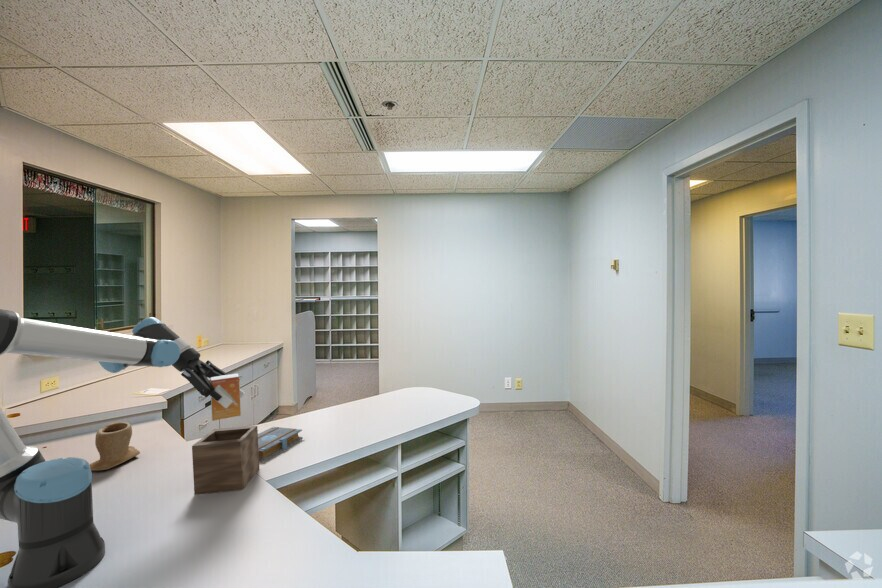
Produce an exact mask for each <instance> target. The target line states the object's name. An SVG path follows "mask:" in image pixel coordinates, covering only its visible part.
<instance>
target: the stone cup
mask: <svg viewBox="0 0 882 588" xmlns="http://www.w3.org/2000/svg"><path fill="white" fill-rule="evenodd" d="M132 435H133V428H132V425H131V423H129V422H126V421H116V422H112V423H108V424H107V425H105V426H103V427H102V428H99V429H98V431H96V433H95V437H94V438H95V441H94V443H95V448H96V449H97V452H98V455H99V459H98V460H95V461H94V462H92V463H89V465H90V469H91V471H95V472H96V471H97V472H98V471H106V470H109V469H110V470H111V468H114V467H117V466H119V465H121V464H123V463H125V462H127V461H129V460H131V459H133V458H136V456H138V455H141V451H140V450H139V449H137V448H136V447H135V446H133V445H130V444H131V443H130V442H131V438H132V437H133V436H132Z"/></svg>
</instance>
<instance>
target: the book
mask: <svg viewBox="0 0 882 588" xmlns="http://www.w3.org/2000/svg"><path fill="white" fill-rule="evenodd" d="M302 431H303V429H301V428H292V427H291V428H289V427H279V426H272V427H270V428H268V429H266V430H264V431H261V432H260V433H258V450H259V462H260V461H261V462H265V461H266V460H267V459H270V458H271V457H272V456H274V455H276V454H278V453H280V452H282V451H284V450H286V449H287V448H289V447H291V445H294V444H296V443H297V442H299V441H301V440H302V439H303V436H299V433H301V432H302Z"/></svg>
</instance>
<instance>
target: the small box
mask: <svg viewBox="0 0 882 588" xmlns="http://www.w3.org/2000/svg"><path fill="white" fill-rule="evenodd" d="M209 381H210V383H211V384H212V386H213V387H214V388H215V389H216V388H217V389H219V390H220V391H221V392H222V393H223V394H225V395H226V396H227V397H228V398H230V399H231V400H232V401H233V402H232V403H231V404H230V405H229V407H228V408H224V407H223V406H222V405H221V404H220V403H218V402H217V401H216V400H215V399H213V398H212V397H211V396H210V407H211V421H218V420H223V419H224V420H225V419H229V418H234V417H240V416H241V415H242V410H241V409H242V408H241V399H240V389H241V387H240V375H239V373H237V372H236V373H231V374H228V375H222V376H216V377H210V378H209ZM215 389H214V390H215Z"/></svg>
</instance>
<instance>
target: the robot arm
mask: <svg viewBox="0 0 882 588" xmlns="http://www.w3.org/2000/svg"><path fill="white" fill-rule="evenodd" d="M131 331H132V334H124V333H118V332H113V331H111V332H110V331H106V330H99V329H93V328H89V327H88V328H87V327H80V326H75V325H74V326H73V325H69V324H63V323H57V322H49V321H45V320H38V319H31V318H26V317H21V316H20V314H19V313H18V312H16V311H13V310H8V309H2V308H0V356H2V355H4V354H15V355H25V356H26V355H28V356H38V357H48V358H59V359H70V360H71V359H72V360H79V361H80V360H81V361H90V362H91V361H92V362H98V363H99V365H100V366H101V367H102V368H103V369H104V370H105V371H107V372H109V373H112V374H116V373H119V372H121V371H123V370H126V369H127V368H129V367H152V368H153V367H155V368H163V367H164V368H165V367H166V368H167V367H170V366H172V367H173V368H174V369H176V370H177V371H178V372H179V373H180V372H181V374H180V375H181V376H182V377H183V378H185V379H186V380H187V382H189V383H190V384H191V385H192V386H193V387H194V388H195V390H196V391H198V393H199V394H200V395H201V396H203V397H205V398H208V397H209V396H210V398H211V397H212V398H213V399H215V400H216V401H217V402H218V403H220V404H221V405H222V406H223V407H224V408H228V407H229V405H230V404H231V403H232V402H233V401H232V400H231V399H230V398H228V397H227V396H226V395H225V394H223V393H222V392H221V391H220V390H219V389H217V388H216V389H215V388H214V387H213V386H212V384H211V383H210V377H216V376H222V375H229V374H228V373H226V371H223V369H220V368H219V367H218V366H216V365H215V364H214V363H212V361H210V360H206V362H205V361H202V360H201V359H200V357H201V354H200V352H198V351H197V350H196V349H195V348H194V347H191V345H190V344H189V343H188V342H187V341H185V340H184V339H183V338H182V337H180V336H179V335H178V334H176V332H174V331H173V330H172V329H171V328H169V327H168V325H166V324H165V323H163V322H162V321H161V320H159V319H158V318H157V317H154V316H151V317H146V318H144V319H142V320H141V321H139V322H137V324H135V326H133V328H132V330H131ZM208 378H209V379H208ZM214 389H215V390H214ZM245 394H246V392H245V391H244V390H242V389H241V388H240V400H241V399H242V398H243V396H244V395H245ZM92 481H93V473H92V470H91V469H90V463H89V462H88V461H87V460H86V459H84V458H80V457H73V456H72V457H65V458H63V457H59V458H53V459H49V460H46V459H45V457H44V456H43V454H42V452H41V451H40V450H39V448H38V446H36V445H25V444H24V442H23V440H22V439H21V438H20V436H19V435H18V433H17V431H16V430H15V428H14V426H13V425H12V424H11V421H10V420H9V419H8V417H7V416H6V414H5V413H4V411H3V409H2V408H1V407H0V520H4V521H8V522H12V523H15V524H17V537H18V551H17V554H16V557H15V559H14V562H13V565H12V567H11V571H10V573H9V576H8V578H7V588H59V587H62V586H63V585H66V584H68V583H70V582H72V581H74V580H75V579H77V578H80V577H81V576H82V575H84V574H86V573H88V572H89V571H90V570H92V569H93V568H94V567H96V566H97V565H98V564H99V563H100V562H101V560H103V558H104V556H105V554H106V542H105V540H104V539H103V537H101V534H100V533H99V531H98V529H97V527H96V525H95V521H94V504H93V487H92V486H93V485H92V484H93V483H92Z"/></svg>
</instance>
